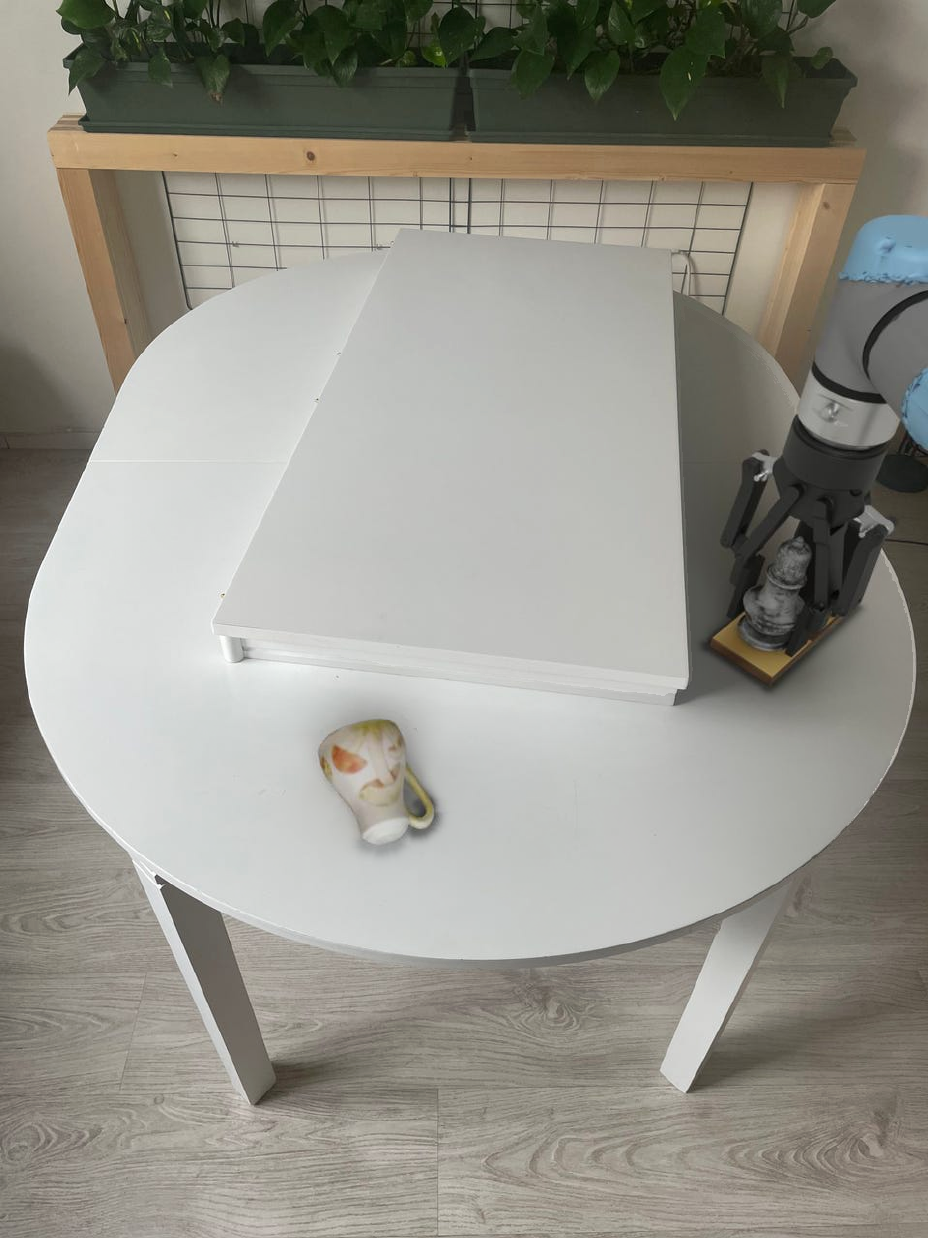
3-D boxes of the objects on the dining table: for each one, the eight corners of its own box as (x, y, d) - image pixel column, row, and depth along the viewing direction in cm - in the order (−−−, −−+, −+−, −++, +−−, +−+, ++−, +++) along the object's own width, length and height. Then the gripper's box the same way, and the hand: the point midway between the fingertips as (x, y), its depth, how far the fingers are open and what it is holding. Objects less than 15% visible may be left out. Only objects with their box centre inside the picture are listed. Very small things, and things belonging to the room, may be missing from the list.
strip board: (856, 607, 95) (860, 598, 94) (769, 686, 87) (772, 677, 86) (797, 572, 99) (801, 563, 98) (708, 646, 91) (711, 637, 90)
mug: (353, 876, 73) (306, 771, 69) (349, 811, 82) (307, 716, 78) (443, 842, 73) (400, 736, 69) (428, 782, 82) (390, 685, 78)
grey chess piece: (785, 662, 86) (824, 567, 78) (725, 637, 88) (757, 542, 80) (804, 625, 90) (844, 530, 81) (746, 601, 92) (779, 506, 83)
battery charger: (851, 601, 94) (891, 513, 86) (836, 622, 92) (875, 533, 84) (788, 571, 97) (821, 483, 89) (771, 590, 95) (804, 501, 87)
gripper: (716, 392, 75) (664, 596, 92) (933, 501, 66) (832, 706, 82) (767, 361, 79) (708, 563, 96) (980, 460, 70) (874, 664, 86)
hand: (766, 629), depth 89 cm, fingers closed on grey chess piece, 6 cm apart
